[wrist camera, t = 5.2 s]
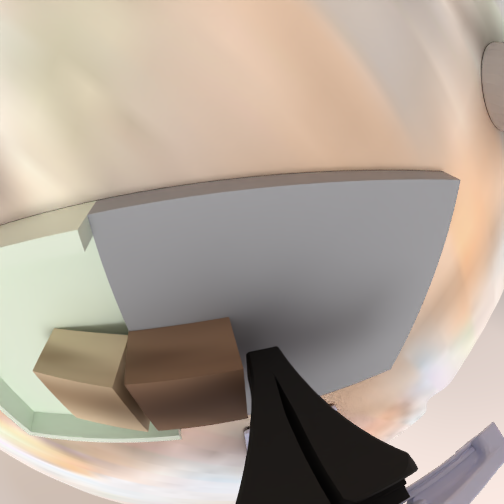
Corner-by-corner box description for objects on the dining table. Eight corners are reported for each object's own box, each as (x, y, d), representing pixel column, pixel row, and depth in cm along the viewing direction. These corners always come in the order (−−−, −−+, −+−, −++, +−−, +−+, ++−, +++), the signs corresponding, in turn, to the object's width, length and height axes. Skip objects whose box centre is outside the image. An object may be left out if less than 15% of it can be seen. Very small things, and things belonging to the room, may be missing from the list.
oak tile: (156, 387, 12) (148, 432, 10) (88, 379, 12) (76, 417, 10) (129, 335, 10) (112, 387, 8) (54, 328, 10) (32, 371, 8)
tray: (178, 410, 16) (181, 439, 14) (33, 411, 13) (29, 435, 12) (96, 200, 8) (77, 229, 6) (-77, 253, 6) (-97, 277, 4)
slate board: (382, 357, 18) (390, 369, 17) (178, 410, 16) (179, 425, 15) (443, 171, 11) (460, 180, 10) (96, 200, 8) (87, 214, 7)
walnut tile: (235, 374, 13) (248, 417, 11) (155, 386, 12) (157, 430, 10) (229, 316, 11) (243, 368, 9) (128, 331, 10) (124, 384, 8)
